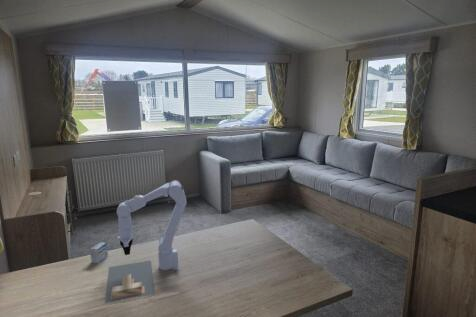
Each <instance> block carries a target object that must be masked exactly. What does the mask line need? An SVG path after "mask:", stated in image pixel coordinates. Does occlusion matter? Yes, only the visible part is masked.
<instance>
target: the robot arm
mask: <svg viewBox="0 0 476 317" xmlns="http://www.w3.org/2000/svg"><path fill="white" fill-rule="evenodd" d="M161 196H164V197H167V198H168V197H170V198H172V199H173V200H174V202H175V205H174V208H173V210H172V212H171V215H170V218H169V221H168V223H167V225H166V229H165V230H164V232H163V233H162V236H160V237H159V239H158V243H159V244H158V250H157V254H158V268H159V269H160V270H162V271H166V270H167V271H168V270H171V269H173V271H177V270H179V253H178V250H177V249H176V248H173V247H172V246H173V241H174V237H175V234H176V231H177V229H178V227H179V224H180V221H181V219H182V216H183V214H184V211H185V208H186V206H187V205H188V204H187V197H186V194H185V190H184V186H183V184H181V182H180V181H179V180H172V181H170V182H166V183H165V184H163V185H161V186H160V187H157V188H156V189H154V190H152V191H150V192H148V193H146V194H144V195H141V194H138V195H137V194H136V195H134V196H133V197H132V198H131V199H129V200H127V199H126V200H125V201H123V202H120V204H119V205H118V207H117V209H116V215H117V217H118V219H117V220H118V222H117V223H118V232H119V233H118V234H119V236H117V237H116V240H119V244H120V246H121V248H122V251H123V253H124V256H127V255H131V249H132V248H131V247H132V245H133V242H134V241H133V239H134V236H133V226H132V217H131V213H133V212H136V211H138V210H140V209H142V208H143V207H146V205H147V203H148V202H150V201H153V200H155V199H158V198H159V197H161Z"/></svg>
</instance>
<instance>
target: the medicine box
mask: <svg viewBox="0 0 476 317" xmlns="http://www.w3.org/2000/svg"><path fill="white" fill-rule="evenodd" d="M89 253H90V262H91V263H92V264H100V263H102V262H103V261H104V260H105V259H106V258H108V257H109V254H108V253H109V252H108V243H107V242H104V241H103V242H98V243H96V244H95V245H94V246H92V247H91V248H89Z"/></svg>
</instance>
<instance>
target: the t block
mask: <svg viewBox="0 0 476 317" xmlns="http://www.w3.org/2000/svg"><path fill="white" fill-rule="evenodd" d="M137 292H142V283H141V282H138V283H133V284H132V278H131V274H129V275H123V285H122V286H116V287H112V297H116V296H122V295H127V294H132V293H137Z"/></svg>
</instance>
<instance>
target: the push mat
mask: <svg viewBox="0 0 476 317" xmlns="http://www.w3.org/2000/svg"><path fill="white" fill-rule="evenodd" d="M107 272H108V274H107V281H106V289H105V290H106V291H105V298H104V304H108V306H109V305H111V303H113V305H115V304H116V302H118V301H119V302H118V304H120V303H121V301H122V300H125V301H123V303H125V302H126V300H128V299H130V300H128V302H129V301H131V299H133V301H134V300H135V301H136V298H138V299H141V298H140V297H143V299H144V298H146V296H148V298H150V297H151V295H153V297H155V295H154V294H156V290H155V281H154V275H153V274H154V273H153V266H152V260H145V261H139V262H133V263H126V264H120V265H114V266H109V267H108V271H107ZM129 274H131V278H132V284H133V283H138V282H141V283H142V292H137V293H132V294H127V295H122V296H116V297H112V287H116V286H122V285H123V275H129ZM114 302H115V303H114Z"/></svg>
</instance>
